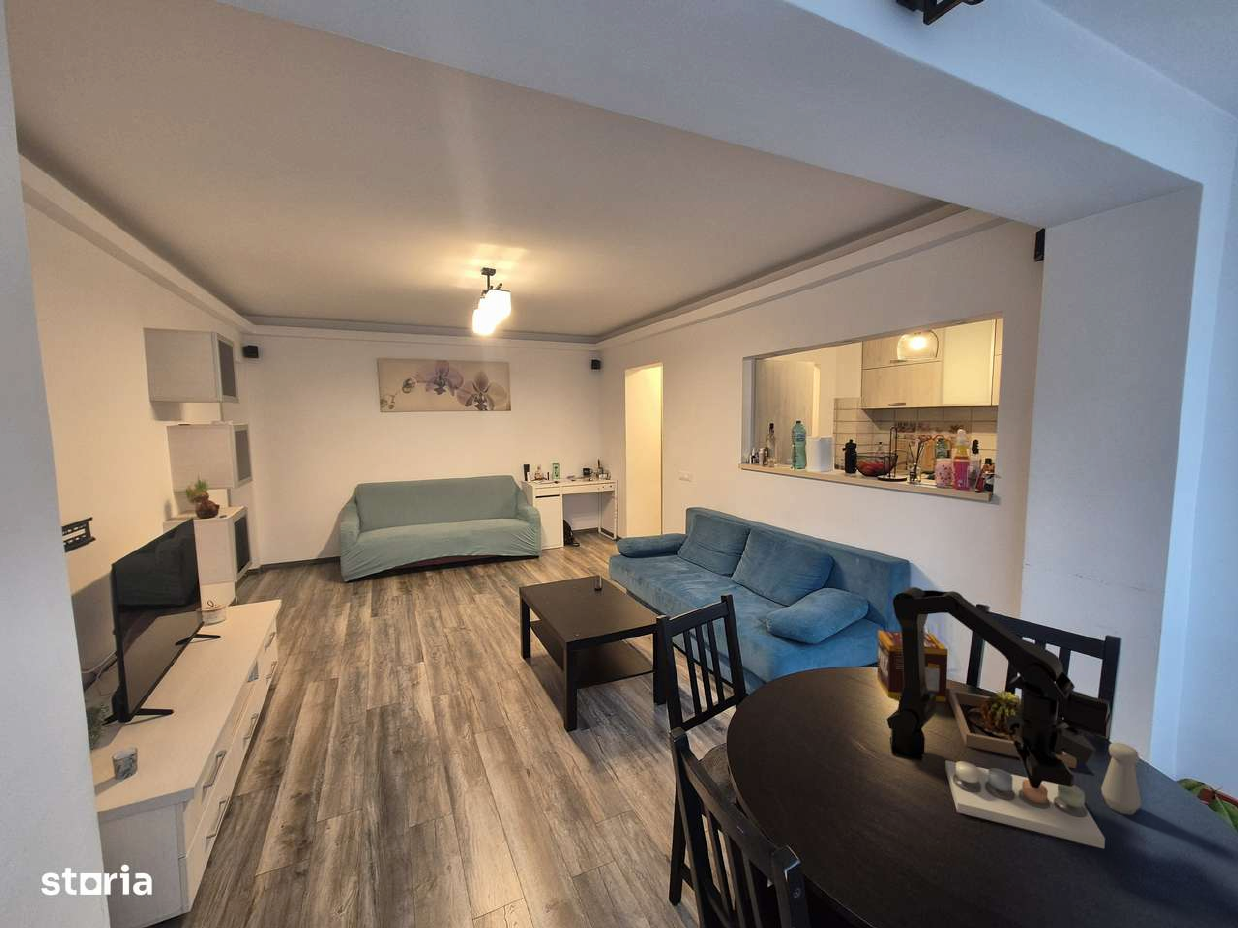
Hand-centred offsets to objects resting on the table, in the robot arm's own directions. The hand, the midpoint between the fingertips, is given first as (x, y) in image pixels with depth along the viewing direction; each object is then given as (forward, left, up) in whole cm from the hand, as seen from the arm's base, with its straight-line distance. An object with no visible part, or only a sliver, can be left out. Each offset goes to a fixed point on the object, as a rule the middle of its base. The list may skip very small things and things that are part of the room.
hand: (1034, 786), depth 104 cm
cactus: (+3, +31, -5) cm, 31 cm away
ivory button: (-11, 0, -1) cm, 12 cm away
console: (-3, 0, -5) cm, 5 cm away
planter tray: (+2, +29, -5) cm, 29 cm away
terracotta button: (0, 0, -2) cm, 2 cm away
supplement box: (-18, +42, -5) cm, 46 cm away
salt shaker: (+16, +7, -5) cm, 18 cm away
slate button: (-6, 0, -1) cm, 6 cm away
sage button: (+6, 0, -1) cm, 6 cm away
